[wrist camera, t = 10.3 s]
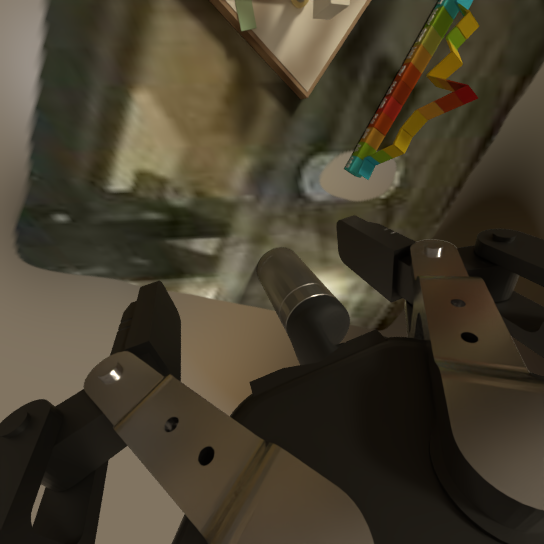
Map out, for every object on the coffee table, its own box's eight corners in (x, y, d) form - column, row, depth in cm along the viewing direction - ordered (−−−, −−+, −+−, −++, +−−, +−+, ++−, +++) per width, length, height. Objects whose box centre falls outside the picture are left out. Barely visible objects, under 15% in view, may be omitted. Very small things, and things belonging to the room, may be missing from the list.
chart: (454, -31, 37) (590, -111, 25) (464, -14, 39) (598, -81, 26) (342, 168, 47) (401, 182, 34) (354, 176, 48) (414, 192, 36)
